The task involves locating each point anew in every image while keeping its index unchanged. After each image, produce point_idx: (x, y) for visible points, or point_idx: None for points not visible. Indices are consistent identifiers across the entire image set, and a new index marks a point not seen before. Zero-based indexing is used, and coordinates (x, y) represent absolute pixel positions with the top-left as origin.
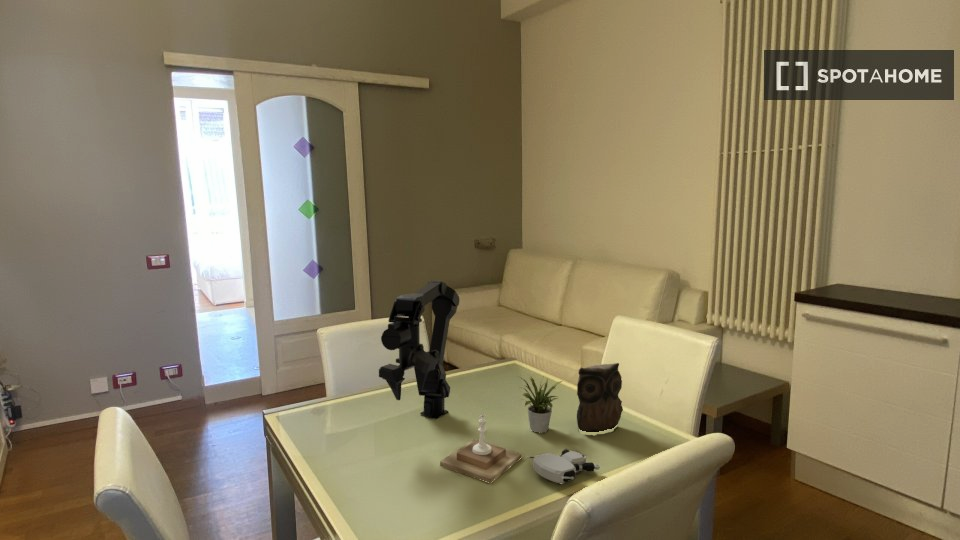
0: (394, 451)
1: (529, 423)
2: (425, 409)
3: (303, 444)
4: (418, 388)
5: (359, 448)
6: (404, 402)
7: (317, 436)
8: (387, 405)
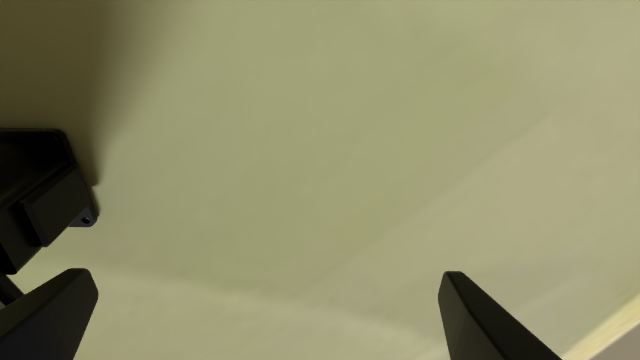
0: (478, 64)
1: None
2: (70, 209)
3: None
4: (90, 310)
5: (509, 208)
6: None
7: None
8: (151, 350)
